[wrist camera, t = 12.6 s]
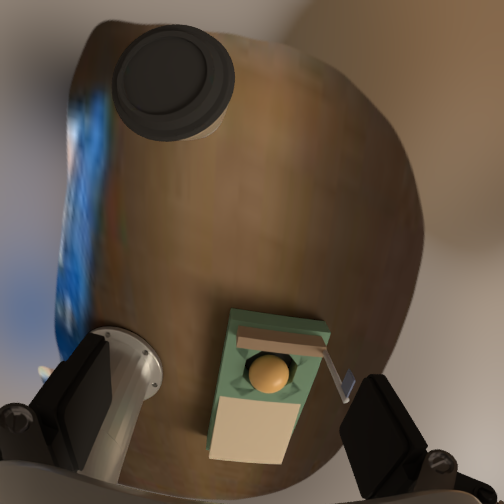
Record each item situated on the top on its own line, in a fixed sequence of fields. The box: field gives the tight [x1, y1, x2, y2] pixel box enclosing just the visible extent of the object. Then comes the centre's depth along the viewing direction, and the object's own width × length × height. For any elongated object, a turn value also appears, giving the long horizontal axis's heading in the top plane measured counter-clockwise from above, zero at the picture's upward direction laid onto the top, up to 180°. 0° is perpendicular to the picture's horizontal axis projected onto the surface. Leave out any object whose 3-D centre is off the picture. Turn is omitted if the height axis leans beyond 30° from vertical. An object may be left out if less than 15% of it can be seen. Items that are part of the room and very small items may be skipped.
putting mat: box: [206, 308, 356, 464], centre depth 35 cm, size 25×12×14 cm, turn 169°
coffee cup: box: [112, 25, 235, 142], centre depth 24 cm, size 9×9×15 cm
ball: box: [249, 355, 289, 393], centre depth 38 cm, size 5×5×5 cm
